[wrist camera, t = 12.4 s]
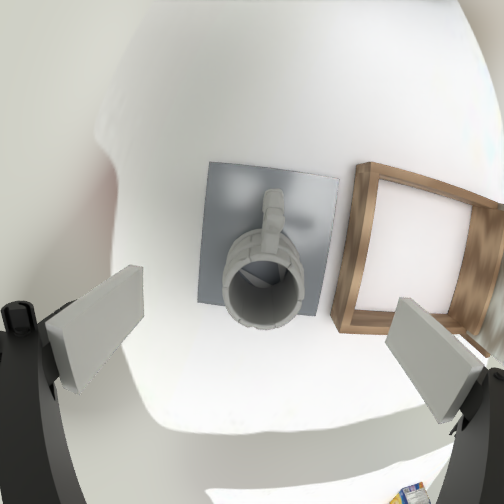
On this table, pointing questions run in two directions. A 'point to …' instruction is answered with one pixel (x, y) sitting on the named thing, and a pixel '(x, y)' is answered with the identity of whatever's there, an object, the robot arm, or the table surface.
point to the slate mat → (251, 217)
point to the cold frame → (471, 274)
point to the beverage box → (412, 495)
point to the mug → (261, 294)
